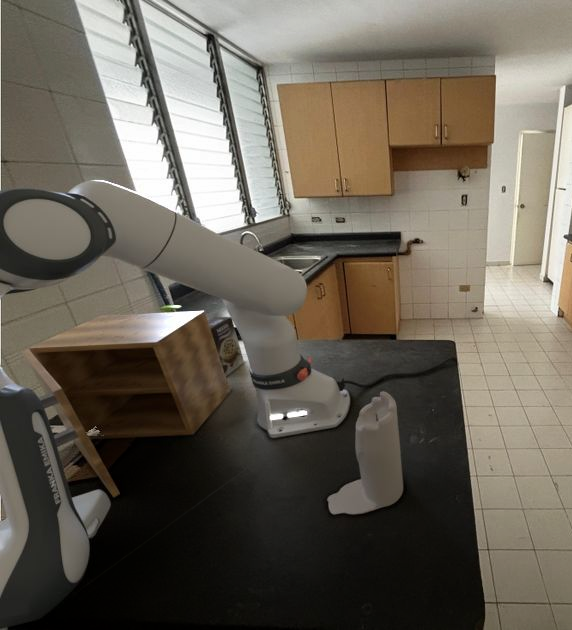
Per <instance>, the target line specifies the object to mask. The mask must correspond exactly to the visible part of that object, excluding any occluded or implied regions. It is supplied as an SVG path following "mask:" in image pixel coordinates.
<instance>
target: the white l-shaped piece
mask: <svg viewBox="0 0 572 630" xmlns="http://www.w3.org/2000/svg"><path fill="white" fill-rule="evenodd" d="M354 440H355V444H354V445H355V455H356V461H357V462H358V466H359V474H360V479H356V480H354V481H352V482H349V483H346V484H345V485H343V486H342V487H341V488H340V489H339V490H338V492H336V493H332V494H331V495H329V496H328V497H327V499H326V501H327V502H328V511H329V512H330V513H331V514H332V515H339V514H347V515H361V514H362V515H363V514H366V513H369V512H373V511H375V510H378V509H381V508H384V507H385V508H386V507H389V506H392V505H393V504H395V503H396V502H398V501H399V499H400V498H402V497H401V496H402V495H403V492H404V477H403V469H402V468H403V467H402V456H401V455H402V453H401V443H400V442H401V441H400V431H399V421H398V408H397V402H396V400H395V399H394V397H393V396H392V395H391V394H390V393H388V392H386V391H380V393H379V396H374V397H372V398H371V402H370V403H368V404H366V405H364V406H363V407H362V408H361V409H360V411H359V414H358V417H357V420H356V422H355V439H354Z"/></svg>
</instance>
